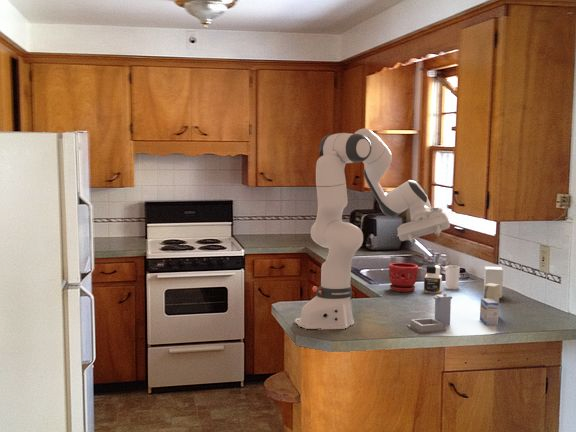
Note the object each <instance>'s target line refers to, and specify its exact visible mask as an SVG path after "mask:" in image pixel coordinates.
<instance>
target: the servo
mask: <svg viewBox="0 0 576 432" xmlns="http://www.w3.org/2000/svg"><path fill="white" fill-rule="evenodd" d="M434 295H435V296H433V300H434V319H435V320H437V321H439V322H441V323H443V324H444V327H445V326H446V327H447V326H451V307H452V305H451V302H452V301H451V300H452V299H453V296H451V295H448V293H447V292H443V293H442V294H440V293H438V294H434Z"/></svg>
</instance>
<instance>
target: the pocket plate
mask: <svg viewBox="0 0 576 432" xmlns="http://www.w3.org/2000/svg"><path fill="white" fill-rule="evenodd" d="M406 326H407V327H408V328H409V329H411V330H413V331H415V332H417V333H418V334H427V333H438V332H439V333H440V332H441V333H442V332H447V331H448V330H447V329H446V328H445V326H444V324H443V323H441V322H439V321H437V320H435V318H434V317H430V318H429V317H427V318H415V319H412V318H411V319H410V322H409V324H407V325H406Z"/></svg>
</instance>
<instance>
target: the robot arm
mask: <svg viewBox="0 0 576 432" xmlns="http://www.w3.org/2000/svg"><path fill="white" fill-rule="evenodd" d="M318 146H319V148H318V152H319V154H318V155H319V157H318V159H317V160H316V164H315V186H316V187H315V188H316V196H317V212H316V218H315V221H314V223H313V224H312V225H311V228H310V238H311V239H312V241H313V242H314V243H315V244H317V245H318V246H320V247H322V248H326V249H328V254H327V257H326V260H325V261H324V262H322V264H321V268H320V271H321V272H320V277H321V278H320V286H315V285H313V287H312V292H314V293H316V296H314V297H313V298H312V299H311V300H310V301H308V302H307V303H306V304H304V305H303V306H302V308H301V312H300V317H298V318H297V317H296V318H295V320H294V323H295V322H296V323H297V324H298V325H300V326H302V327H305V328H321V329H320V330H345V328H346V329H347V328H349V327H351V326H353V325H354V324H355V320H354V315H353V309H352V297H353V290H352V289H353V288H352V285H351V280H352V279H351V277H352V274H351V271H352V263H353V259H354V257H355V255H356V252H357V251H358V250H359V249H360V248H361V247H362V244H363V242H364V233H363V231H362V230H361V228H360V227H358V226H356V225H354V224H353V223H351V222H348V221H347V222H346V221H343V213H344V209H346V208H347V205H348V201H349V200H348V191H347V190H348V189H347V180H346V174H345V167H346V164H353V163H354V164H355V163H361V162H362V163H363V165H364V169H363V177H364V179H365V182H366V183H367V185H368V187H369V189H370V191H371V192H372V194H373V195H374V198H375V199H376V201H377V203H378V205H379V209H380V210H381V211H382V213H383V214H384V216H385V217H388V218H395V217H397V216H399V215H400V214H401V213H403V212H404V211H406V210H409V213H410V215H409V216H410V221H408V222H404V223H402V224H400V225H399V226H398V227H397V229H396V231H397V236H398V238H399V241H401V242H404V241H410V243H411V244H414V243H416V238H419V237H423V236H427V235H430V234H434V236H435V237H439V236H440V233H441V232H442V231H445V230H448V229H450V228H451V224H450V221H449V218H448V216H447V214H446V213H445V212H444V211H443V209H442V207H440V206H439V207H432V205H431V201H430V200H429V198H428V194H427V192H426V189H425V188H424V187H423V186H422V184H421V183H420V182H417V181H415V180H412V179H409V180H407V181H404V183H402V184H400V185H399V186H397V187H395V188H394V189H392V190H390V191H388V192H385V191H384V189H383V187H382V185H381V184H380V180H381V178H383V176H384V175H385V174H386V173H387V171H388V170H389V168H390V167H391V164H392V160H393V155H392V152H391V150H390V149H389V147H388V146H387V145H386V143H385V142H384V141H383V140H382V139H381V138H380V137H379V136H378V135H377V134H376V133H374V132H373V130H371V129H369V128H361V129H358V130H357V131H355V132H354V133H349V132H340V133H339V132H338V133H329V134H327V135H325V136H323V137H322V138H321V141H320V142H319V145H318ZM297 320H299V321H297ZM350 325H351V326H350Z"/></svg>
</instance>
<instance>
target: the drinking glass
mask: <svg viewBox="0 0 576 432" xmlns="http://www.w3.org/2000/svg"><path fill="white" fill-rule="evenodd" d="M460 268H461V267H460V265H459V266H458V265H445V273H444V275H445V289H448V290H457V289H459V282H460Z"/></svg>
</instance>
